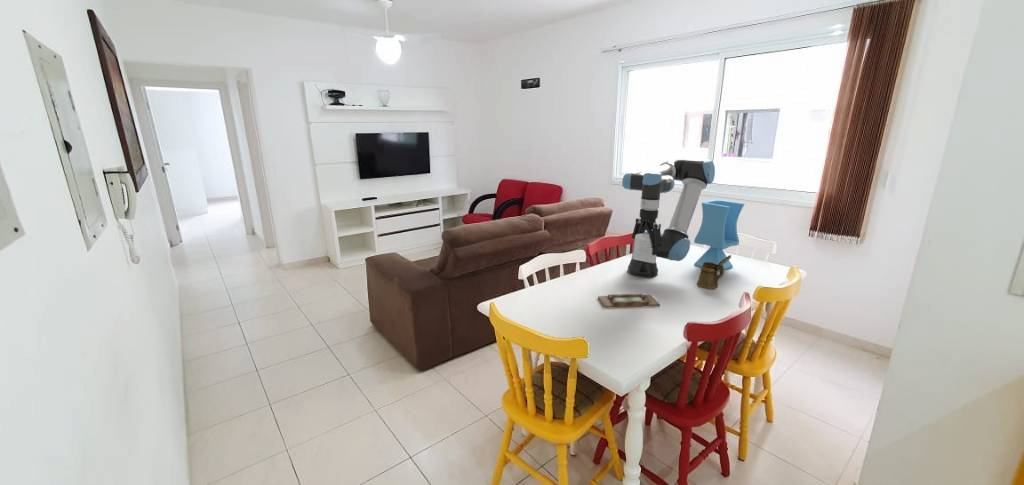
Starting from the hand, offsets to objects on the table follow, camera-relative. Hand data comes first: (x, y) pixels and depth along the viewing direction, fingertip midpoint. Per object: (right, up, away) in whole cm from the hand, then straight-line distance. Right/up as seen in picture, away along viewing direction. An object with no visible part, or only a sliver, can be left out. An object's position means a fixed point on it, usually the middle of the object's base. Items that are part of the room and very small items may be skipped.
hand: (644, 258), depth 179 cm
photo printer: (0, -1, 0) cm, 1 cm away
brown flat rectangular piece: (-8, -19, -3) cm, 21 cm away
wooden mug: (+36, -15, +11) cm, 40 cm away
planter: (+50, -6, +40) cm, 64 cm away
